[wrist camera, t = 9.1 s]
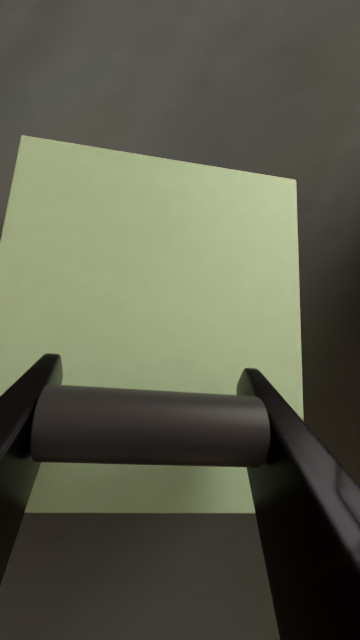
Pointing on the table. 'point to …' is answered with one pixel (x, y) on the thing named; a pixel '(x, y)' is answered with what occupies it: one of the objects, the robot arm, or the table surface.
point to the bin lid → (148, 325)
